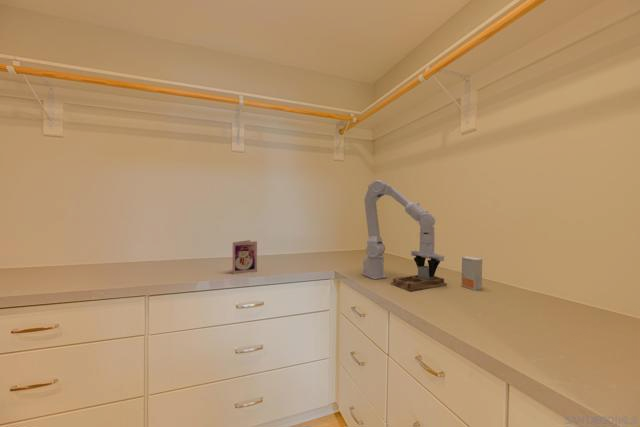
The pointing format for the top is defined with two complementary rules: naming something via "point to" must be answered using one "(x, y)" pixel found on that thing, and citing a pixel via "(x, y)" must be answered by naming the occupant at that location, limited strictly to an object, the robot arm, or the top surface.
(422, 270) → the slate block
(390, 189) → the robot arm
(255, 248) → the greeting card
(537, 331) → the top surface
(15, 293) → the top surface
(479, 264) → the skincare box
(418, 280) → the slot rack
